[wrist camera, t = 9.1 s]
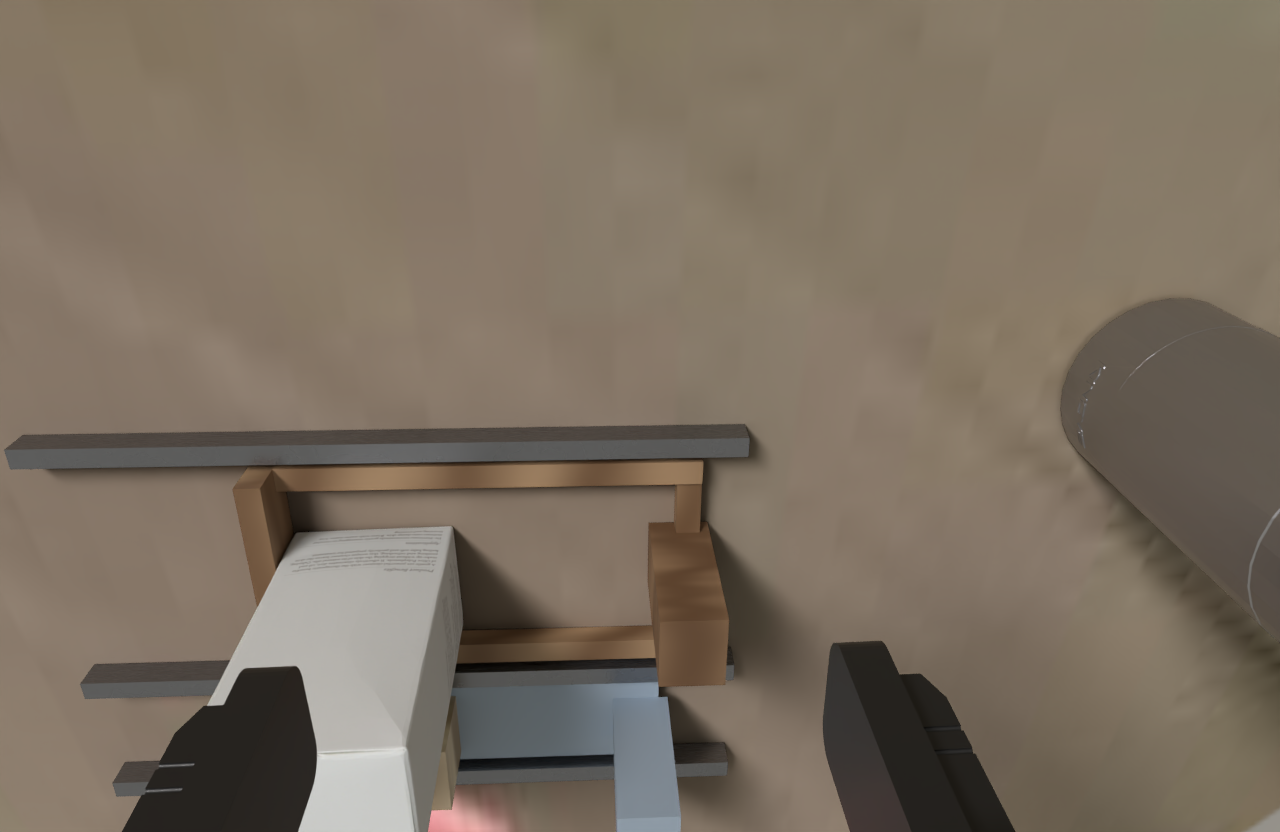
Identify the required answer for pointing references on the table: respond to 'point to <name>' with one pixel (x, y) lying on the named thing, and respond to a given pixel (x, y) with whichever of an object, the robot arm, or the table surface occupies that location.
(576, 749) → the pale blue bent piece
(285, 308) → the table surface
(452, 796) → the beech cube
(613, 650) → the walnut frame
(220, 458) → the guide rails
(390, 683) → the skincare box
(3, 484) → the table surface
